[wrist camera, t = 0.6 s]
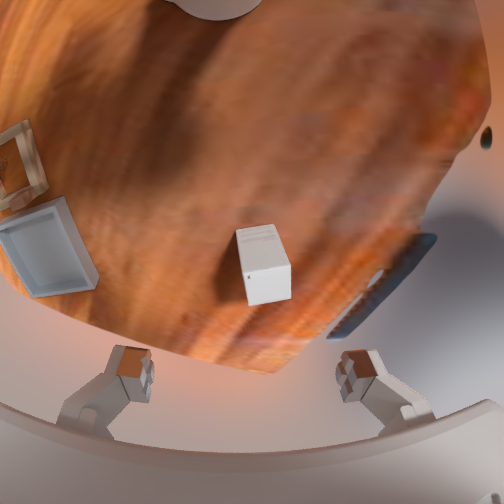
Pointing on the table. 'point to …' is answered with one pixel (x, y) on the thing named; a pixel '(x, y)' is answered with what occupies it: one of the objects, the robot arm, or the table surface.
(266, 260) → the supplement box
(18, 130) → the ring
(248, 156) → the table surface
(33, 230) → the tray
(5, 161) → the rod
